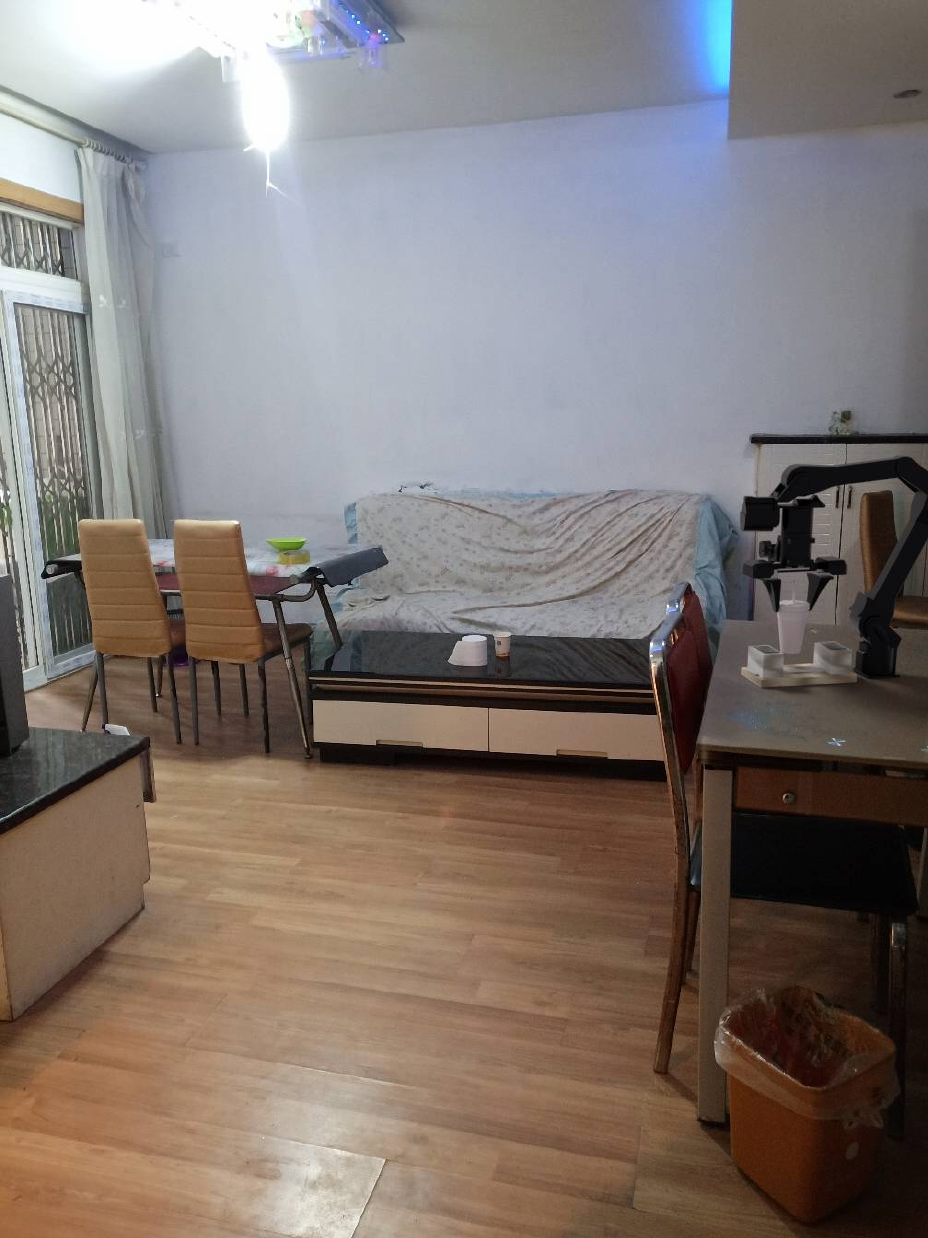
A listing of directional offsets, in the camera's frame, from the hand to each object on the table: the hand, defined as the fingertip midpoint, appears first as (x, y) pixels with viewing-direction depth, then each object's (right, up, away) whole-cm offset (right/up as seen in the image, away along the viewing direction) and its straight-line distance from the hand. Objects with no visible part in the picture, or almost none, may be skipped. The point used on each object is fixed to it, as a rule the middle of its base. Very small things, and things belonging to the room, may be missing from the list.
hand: (792, 611), depth 188 cm
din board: (+1, -13, -1) cm, 13 cm away
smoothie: (0, -8, +2) cm, 8 cm away
